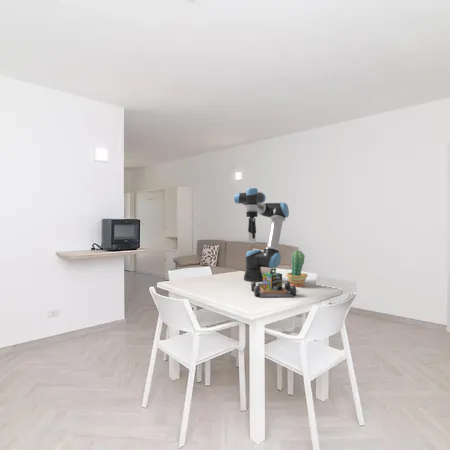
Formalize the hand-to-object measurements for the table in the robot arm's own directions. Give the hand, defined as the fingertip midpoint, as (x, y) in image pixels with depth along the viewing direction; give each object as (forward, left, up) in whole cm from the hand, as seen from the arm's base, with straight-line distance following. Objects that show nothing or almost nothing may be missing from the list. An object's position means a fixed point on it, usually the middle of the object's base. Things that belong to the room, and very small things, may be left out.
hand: (251, 242), depth 216 cm
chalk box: (+12, +12, -31) cm, 35 cm away
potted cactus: (-10, +34, -32) cm, 48 cm away
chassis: (+12, +12, -32) cm, 36 cm away
